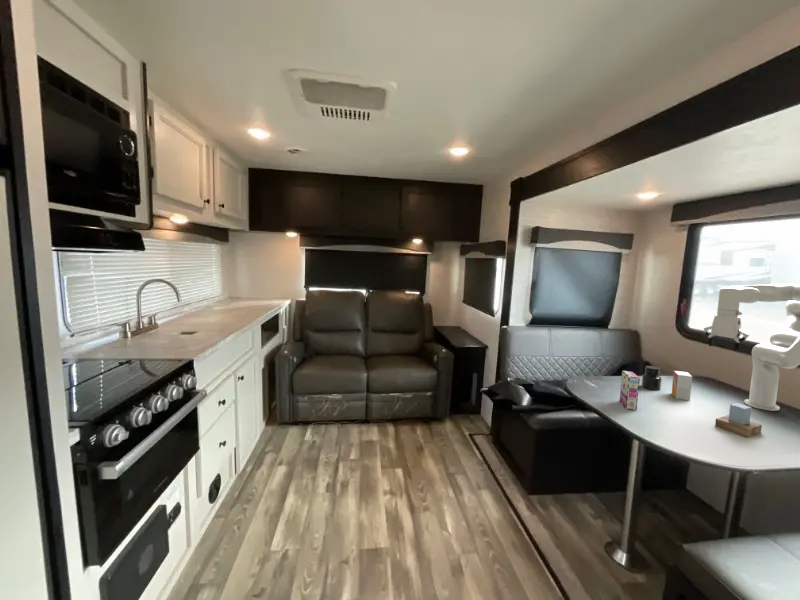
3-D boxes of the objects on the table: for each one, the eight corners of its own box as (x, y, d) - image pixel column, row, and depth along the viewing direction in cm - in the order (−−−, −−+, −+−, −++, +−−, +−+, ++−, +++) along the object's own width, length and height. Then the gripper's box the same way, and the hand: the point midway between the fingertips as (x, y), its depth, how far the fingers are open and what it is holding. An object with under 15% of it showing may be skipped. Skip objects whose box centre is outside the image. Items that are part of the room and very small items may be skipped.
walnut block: (728, 423, 163) (729, 414, 162) (760, 433, 153) (761, 424, 152) (714, 427, 159) (715, 418, 158) (746, 438, 149) (747, 429, 148)
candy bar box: (637, 410, 174) (640, 377, 172) (625, 409, 176) (628, 376, 174) (630, 402, 185) (632, 371, 183) (619, 401, 186) (621, 370, 185)
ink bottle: (665, 390, 203) (667, 369, 201) (652, 391, 201) (654, 370, 199) (649, 384, 212) (651, 364, 211) (637, 385, 210) (638, 365, 209)
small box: (671, 393, 198) (673, 370, 196) (685, 395, 195) (687, 372, 194) (675, 398, 191) (677, 374, 189) (690, 400, 188) (692, 376, 187)
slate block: (735, 418, 159) (737, 403, 158) (749, 423, 154) (751, 407, 153) (728, 420, 157) (730, 404, 156) (742, 424, 152) (744, 408, 151)
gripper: (754, 315, 167) (750, 351, 169) (710, 310, 183) (706, 343, 185) (746, 316, 164) (742, 353, 166) (702, 311, 180) (698, 344, 181)
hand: (723, 348), depth 175 cm, fingers open, 9 cm apart
